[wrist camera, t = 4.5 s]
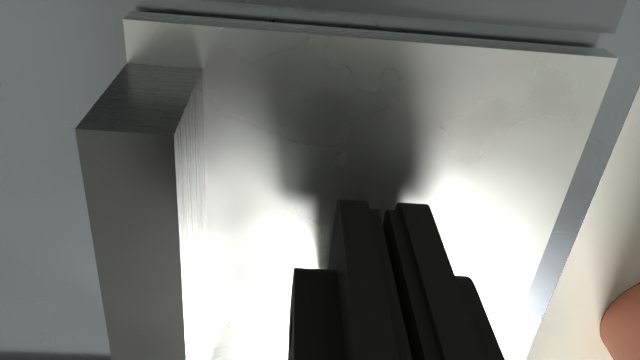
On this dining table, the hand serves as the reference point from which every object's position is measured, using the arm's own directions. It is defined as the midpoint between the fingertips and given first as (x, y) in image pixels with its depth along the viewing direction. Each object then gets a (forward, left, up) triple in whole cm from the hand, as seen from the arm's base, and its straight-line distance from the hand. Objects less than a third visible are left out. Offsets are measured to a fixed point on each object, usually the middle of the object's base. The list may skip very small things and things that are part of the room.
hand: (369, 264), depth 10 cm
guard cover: (0, 0, -1) cm, 1 cm away
